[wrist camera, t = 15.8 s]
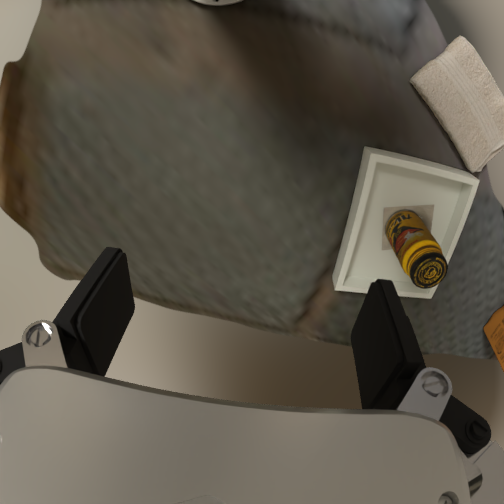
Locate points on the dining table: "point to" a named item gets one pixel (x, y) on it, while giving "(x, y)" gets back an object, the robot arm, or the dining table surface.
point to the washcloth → (464, 102)
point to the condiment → (414, 243)
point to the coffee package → (496, 334)
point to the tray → (395, 195)
